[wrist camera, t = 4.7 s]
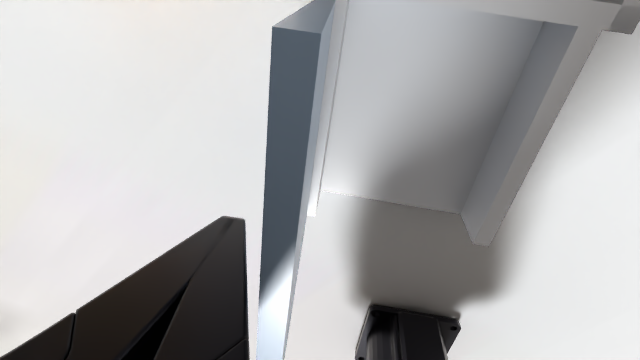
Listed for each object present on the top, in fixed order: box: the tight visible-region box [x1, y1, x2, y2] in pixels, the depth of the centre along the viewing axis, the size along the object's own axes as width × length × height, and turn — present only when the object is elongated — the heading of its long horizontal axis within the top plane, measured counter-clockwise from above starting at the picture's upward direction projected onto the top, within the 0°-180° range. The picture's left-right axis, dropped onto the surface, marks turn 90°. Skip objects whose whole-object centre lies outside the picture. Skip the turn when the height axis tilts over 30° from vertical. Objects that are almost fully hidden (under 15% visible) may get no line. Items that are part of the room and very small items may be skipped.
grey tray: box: [307, 0, 640, 247], centre depth 13 cm, size 19×12×3 cm, turn 173°
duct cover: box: [256, 0, 336, 360], centre depth 10 cm, size 9×9×1 cm
